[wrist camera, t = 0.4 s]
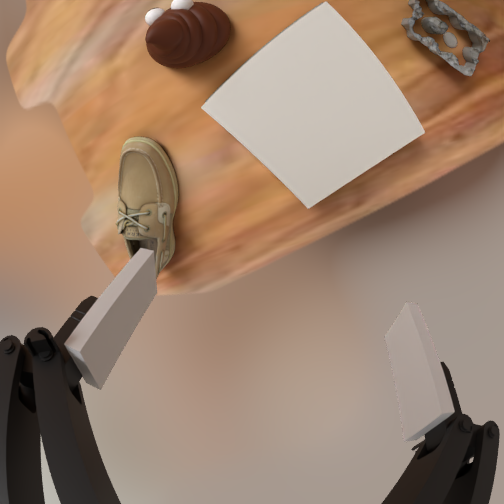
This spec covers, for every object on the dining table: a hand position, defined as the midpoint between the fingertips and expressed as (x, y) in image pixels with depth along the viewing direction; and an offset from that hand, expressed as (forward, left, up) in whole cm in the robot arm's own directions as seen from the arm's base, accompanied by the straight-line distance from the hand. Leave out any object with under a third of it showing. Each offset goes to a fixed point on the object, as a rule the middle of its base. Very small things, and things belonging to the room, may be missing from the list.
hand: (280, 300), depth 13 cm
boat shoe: (+23, -6, -25) cm, 35 cm away
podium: (-5, 0, -25) cm, 25 cm away
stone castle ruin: (-25, +1, -25) cm, 36 cm away
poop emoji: (-1, -17, -25) cm, 31 cm away
